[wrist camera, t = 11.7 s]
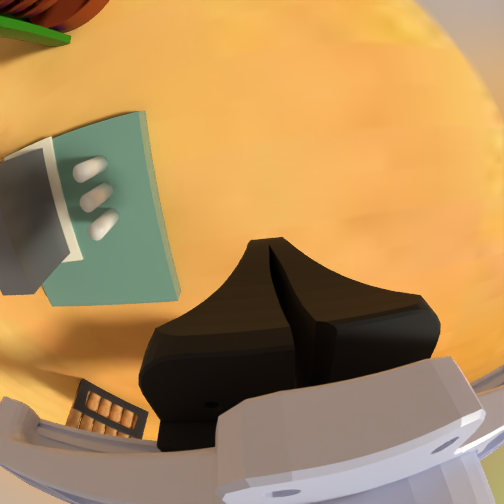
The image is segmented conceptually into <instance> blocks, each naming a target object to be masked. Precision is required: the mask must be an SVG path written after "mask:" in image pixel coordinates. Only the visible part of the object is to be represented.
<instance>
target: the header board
mask: <svg viewBox="0 0 504 504" xmlns="http://www.w3.org/2000/svg"><path fill="white" fill-rule="evenodd" d="M40 148H43V154H44V159H45V164H46V169H47V174H48V178H49V182H50V187H51V191H52V195H53V198H54V202H55V206H56V209H57V213H58V216H59V220H60V223H61V226H62V229H63V233H64V236H65V239H66V242H67V244H68V247H69V250H70V254H69V255H68V256H67V257H66V258H65V259H64V260H63V261H62V262H61V264H60V265H59V266H58V267H57V268H56V269H55V270H54V271H53V272H52V273H51V275H50V276H49V277H48V278H47V279H46V280H45V281H44V283H43V284H42V286H43V289H44V291H45V293H46V295H47V297H48V299H49V301H50V303H51V305H52V306H92V305H117V304H137V303H154V302H169V301H178V299H179V296H180V292H181V289H180V285H179V282H178V278H177V274H176V270H175V266H174V262H173V258H172V254H171V250H170V245H169V241H168V237H167V232H166V228H165V223H164V219H163V214H162V209H161V204H160V199H159V194H158V189H157V183H156V178H155V172H154V167H153V161H152V155H151V148H150V142H149V135H148V128H147V121H146V113H145V111H137V112H133V113H129V114H125V115H122V116H118V117H114V118H111V119H108V120H104V121H101V122H98V123H94V124H91V125H88V126H85V127H82V128H79V129H76V130H74V131H71V132H68V133H65V134H63V135H60V136H58V137H55V138H52V136H50V137H48V138H45V139H43V140H41V141H38V142H36V143H34V144H32V145H29V146H27V147H25V148H23V149H21V150H19V151H17V152H15V153H13V154H11V155H9V156H7V157H5V158H4V161H5V160H8V159H11V158H14V157H16V156H19V155H22V154H25V153H28V152H31V151H34V150H37V149H40ZM2 162H3V161H2Z"/></svg>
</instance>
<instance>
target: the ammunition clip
mask: <svg viewBox="0 0 504 504" xmlns="http://www.w3.org/2000/svg"><path fill="white" fill-rule="evenodd" d="M88 397H89V398H88ZM87 399H88V401H87ZM86 402H87V403H86ZM99 402H100V404H99ZM98 405H99V407H98ZM110 408H111V409H110ZM97 409H98V410H97ZM96 412H97V413H96ZM109 412H110V413H109ZM121 414H122V416H121ZM108 415H109V417H108ZM81 417H82V418H81ZM147 417H148V412H147V411H145V410H143V409H141V408H139V407H136V406H134V405H132V404H130V403H128V402H126V401H124V400H122V399H120V398H118V397H116V396H114V395H112V394H110V393H108V392H106V391H105V390H103V389H101V388H99V387H97V386H95V385H94V384H92V383H90V382H88V381H87V380H85V379H82V380H81V382H80V384H79V387H78V390H77V393H76V396H75V399H74V402H73V405H72V407H71V410H70V413H69V416H68V419H67V422H66V426H69V427H73V428H78V425H79V422H80V425H79V428H78V429H81V430H86V431H91V432H96V433H101V434H103V433H104V434H106V435H112V436H116V434H117V436H119V437H126V438H133V439H142V436H143V432H144V428H145V424H146V420H147ZM120 418H121V420H120ZM80 419H81V421H80ZM132 420H133V421H132ZM119 422H120V424H119ZM92 424H93V427H92ZM131 425H132V426H131ZM91 428H92V430H91ZM104 429H105V432H104Z"/></svg>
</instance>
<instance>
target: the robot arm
mask: <svg viewBox="0 0 504 504" xmlns="http://www.w3.org/2000/svg"><path fill="white" fill-rule="evenodd" d="M439 335H440V321H439V319H438V317H437V315H436V314H435V313H434V311H433V310H432V309H431V307H430V306H429V305H428V304H427V302H426V301H425V300H424V299H423V298H422V296H421V295H416V294H409V293H402V292H395V291H390V290H386V289H382V288H377V287H373V286H370V285H367V284H363V283H360V282H358V281H355V280H352V279H349V278H347V277H344V276H342V275H340V274H338V273H336V272H334V271H331V270H329V269H327V268H326V267H324V266H322V265H320V264H319V263H317V262H316V261H314V260H312V259H311V258H309V257H308V256H306V255H305V254H304V253H302V252H301V251H299V250H298V249H297V248H295V247H294V246H293V245H292V244H290V243H289V242H288V241H287V240H285V239H284V238H283V237H278V238H268V239H258V240H251V241H250V242H249V243H248V246H247V248H246V251H245V253H244V255H243V257H242V258H241V260H240V262H239V264H238V265H237V267H236V268H235V269H234V271H233V272H232V274H231V275H230V276H229V278H228V279H227V280H226V281H225V283H224V284H223V285H222V286H221V287H220V288H219V289H218V290H217V291H216V292H214V293H213V294H212V295H211V296H210V297H208V298H207V299H206V300H205V301H204V302H202V303H201V304H199V305H198V306H196V307H195V308H193V309H192V310H190V311H189V312H187V313H185V314H184V315H182V316H180V317H178V318H176V319H174V320H172V321H170V322H168V323H166V324H164V325H162V326H160V327H157V328H156V329H155V331H154V333H153V335H152V337H151V339H150V342H149V344H148V347H147V349H146V352H145V355H144V359H143V362H142V366H141V369H140V373H139V387H140V389H141V391H142V394H143V395H144V397H145V398H146V400H147V401H148V403H149V404H150V406H151V407H152V409H153V410H154V412H155V413H156V415H157V416H158V417H159V419H160V427H159V433H158V440H157V441H151V440H142V439H133V438H126V437H119V436H112V435H106V434H101V433H96V432H91V431H86V430H81V429H77V428H73V427H69V426H65V425H61V424H57V423H54V422H50V421H47V420H43V419H40V418H39V416H38V415H37V414H36V413H35V412H34V411H33V410H32V409H31V408H30V407H29V406H28V405H26V404H25V403H22V402H20V401H17V400H14V399H11V398H8V397H3V398H2V401H1V403H0V466H2V467H3V468H5V469H6V470H7V471H9V472H10V473H12V474H13V475H15V476H16V477H18V478H19V479H21V480H23V481H24V482H26V483H28V484H29V485H31V486H33V487H35V488H37V489H39V490H41V491H43V492H46V493H48V494H50V495H52V496H54V497H57V498H59V499H61V500H63V501H66V502H68V503H71V504H496V503H495V500H494V497H493V494H492V491H491V489H490V486H489V483H488V481H487V478H486V476H485V473H484V471H483V468H482V466H481V464H480V461H481V460H482V459H484V458H485V457H486V456H488V455H489V454H491V453H492V452H493V451H495V450H496V449H497V448H499V447H500V446H501V445H503V444H504V365H502V366H500V367H499V368H497V369H495V370H493V371H492V372H490V373H488V374H486V375H484V376H483V377H481V378H479V379H477V380H475V381H473V382H471V383H469V382H468V380H467V379H466V377H465V375H464V374H463V372H462V370H461V369H460V367H459V366H458V364H457V363H456V362H455V361H454V360H453V359H452V358H451V357H438V358H431V359H430V357H431V355H432V353H433V351H434V349H435V347H436V344H437V341H438V338H439Z"/></svg>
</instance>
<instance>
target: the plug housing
mask: <svg viewBox="0 0 504 504" xmlns="http://www.w3.org/2000/svg"><path fill="white" fill-rule="evenodd" d="M69 254H70V250H69V247H68V244H67V242H66V239H65V236H64V233H63V229H62V226H61V223H60V220H59V216H58V213H57V209H56V206H55V202H54V198H53V195H52V191H51V187H50V182H49V178H48V174H47V169H46V164H45V159H44V154H43V148H40V149H37V150H34V151H31V152H28V153H25V154H22V155H19V156H16V157H14V158H11V159H8V160H5V161H3V162H0V290H1V292H2V294H3V295H27V294H34V293H35V292H36V291H37V290H38V289H39V287H40V286H41V285H42V284H43V283H44V281H45V280H46V279H47V278H48V277H49V276H50V275H51V273H52V272H53V271H54V270H55V269H56V268H57V267H58V266H59V265H60V264H61V262H62V261H63V260H64V259H65V258H66V257H67V256H68V255H69Z"/></svg>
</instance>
